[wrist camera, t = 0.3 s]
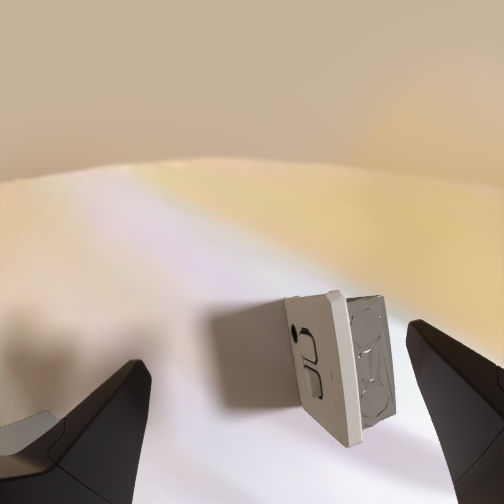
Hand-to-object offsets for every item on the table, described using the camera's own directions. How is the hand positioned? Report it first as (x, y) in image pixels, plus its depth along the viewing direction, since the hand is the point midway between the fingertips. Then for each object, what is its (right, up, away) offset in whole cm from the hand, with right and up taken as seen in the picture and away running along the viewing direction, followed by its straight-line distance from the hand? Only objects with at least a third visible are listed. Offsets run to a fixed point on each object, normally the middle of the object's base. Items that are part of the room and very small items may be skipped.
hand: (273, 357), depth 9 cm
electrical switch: (+5, -4, +14) cm, 16 cm away
